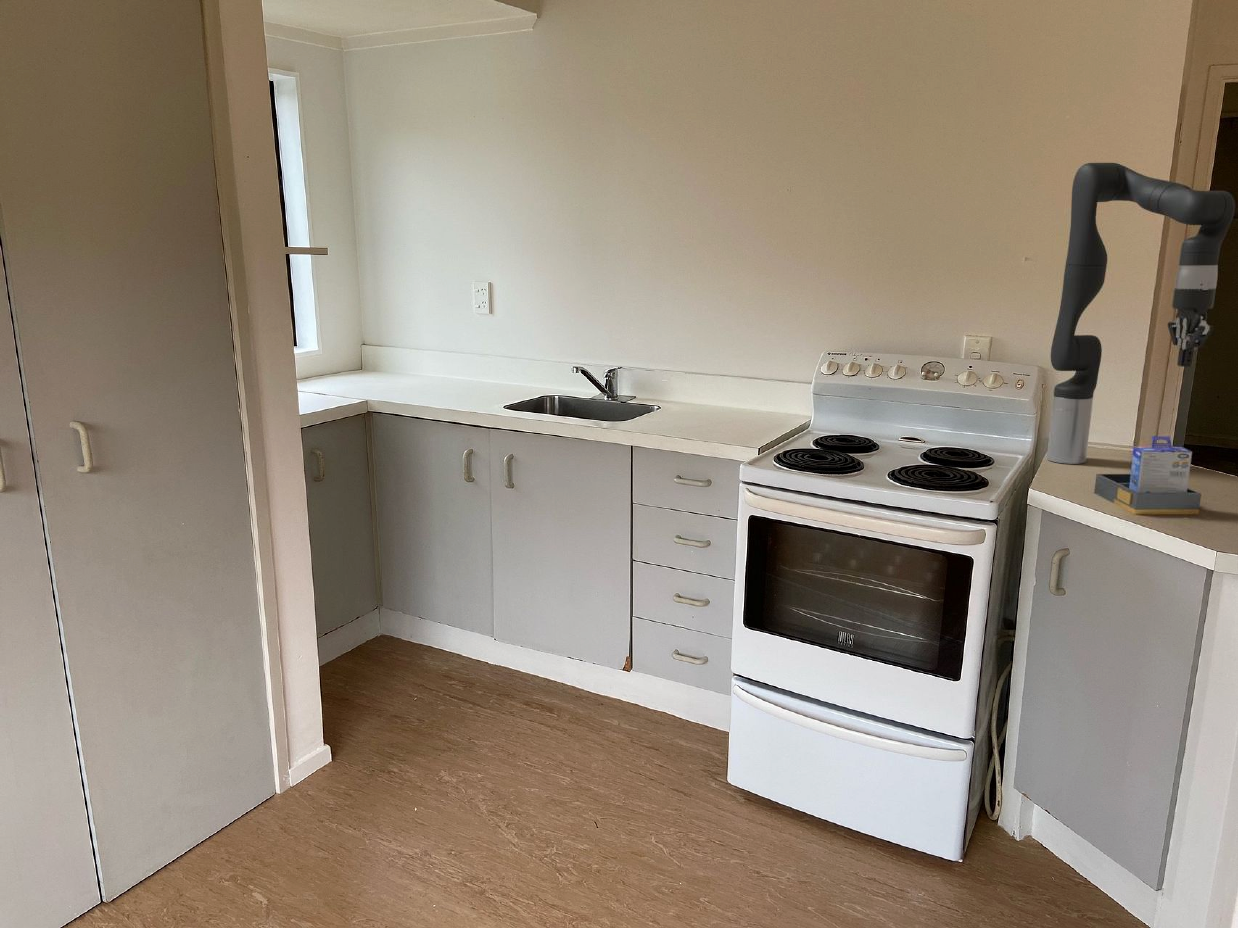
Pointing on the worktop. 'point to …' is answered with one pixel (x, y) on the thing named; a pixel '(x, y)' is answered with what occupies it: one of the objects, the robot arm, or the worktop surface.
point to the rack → (1145, 497)
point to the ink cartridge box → (1160, 468)
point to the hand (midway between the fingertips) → (1184, 366)
